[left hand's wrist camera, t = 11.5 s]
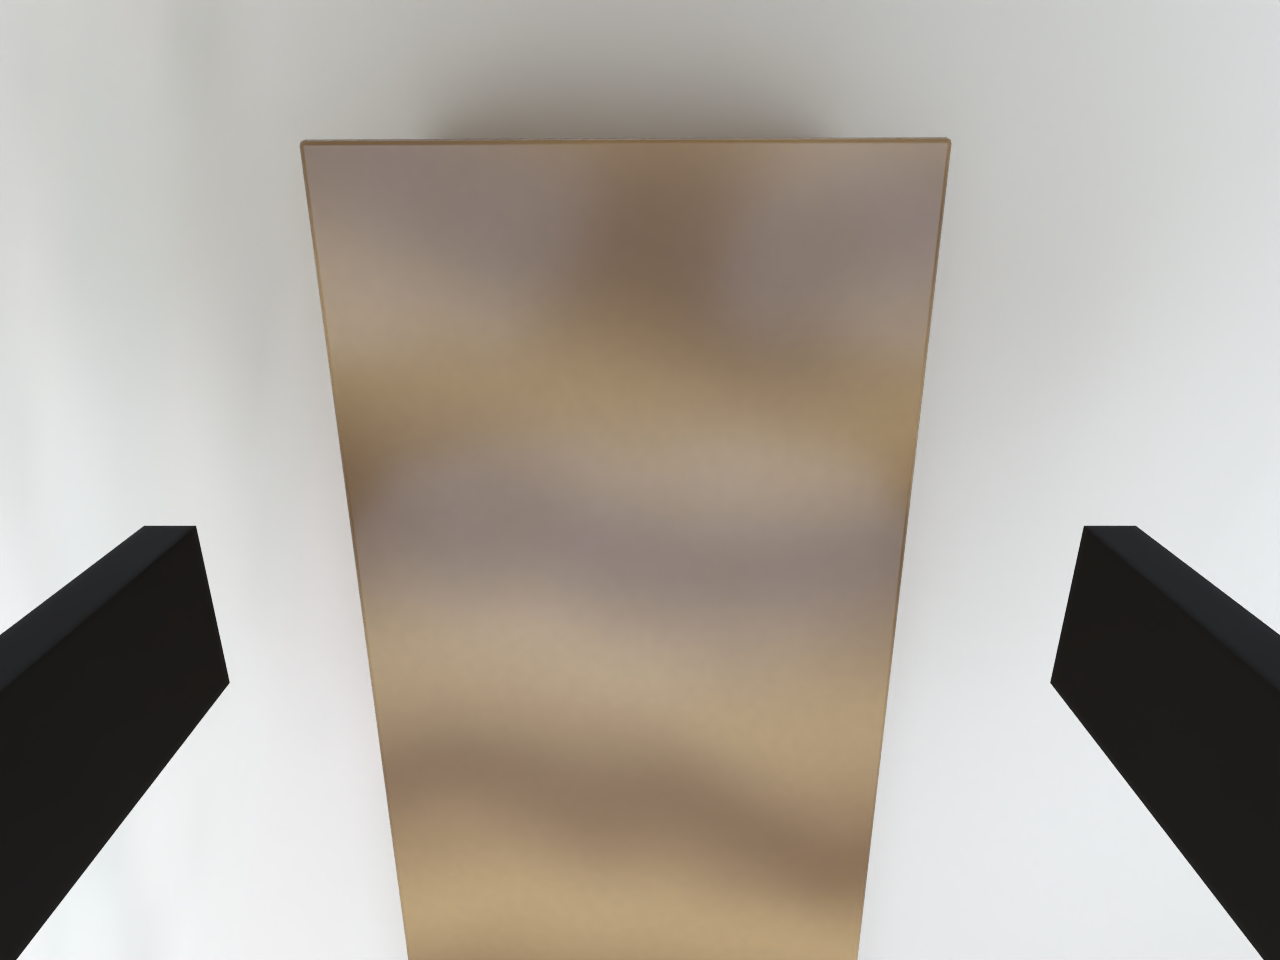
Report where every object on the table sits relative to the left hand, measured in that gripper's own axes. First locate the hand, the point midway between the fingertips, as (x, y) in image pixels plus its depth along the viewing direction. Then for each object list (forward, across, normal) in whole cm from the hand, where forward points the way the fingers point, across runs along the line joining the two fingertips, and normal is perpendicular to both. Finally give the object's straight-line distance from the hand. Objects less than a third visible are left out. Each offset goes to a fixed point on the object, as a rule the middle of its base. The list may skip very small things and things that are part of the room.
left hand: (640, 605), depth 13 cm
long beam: (+7, 0, -33) cm, 34 cm away
